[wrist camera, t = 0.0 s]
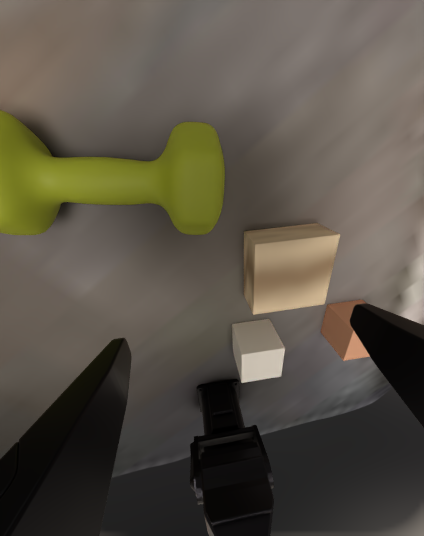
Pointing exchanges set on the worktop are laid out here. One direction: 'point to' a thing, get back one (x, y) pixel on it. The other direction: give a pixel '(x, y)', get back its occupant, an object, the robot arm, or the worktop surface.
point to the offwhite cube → (257, 350)
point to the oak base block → (288, 266)
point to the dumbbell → (110, 179)
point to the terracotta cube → (342, 330)
